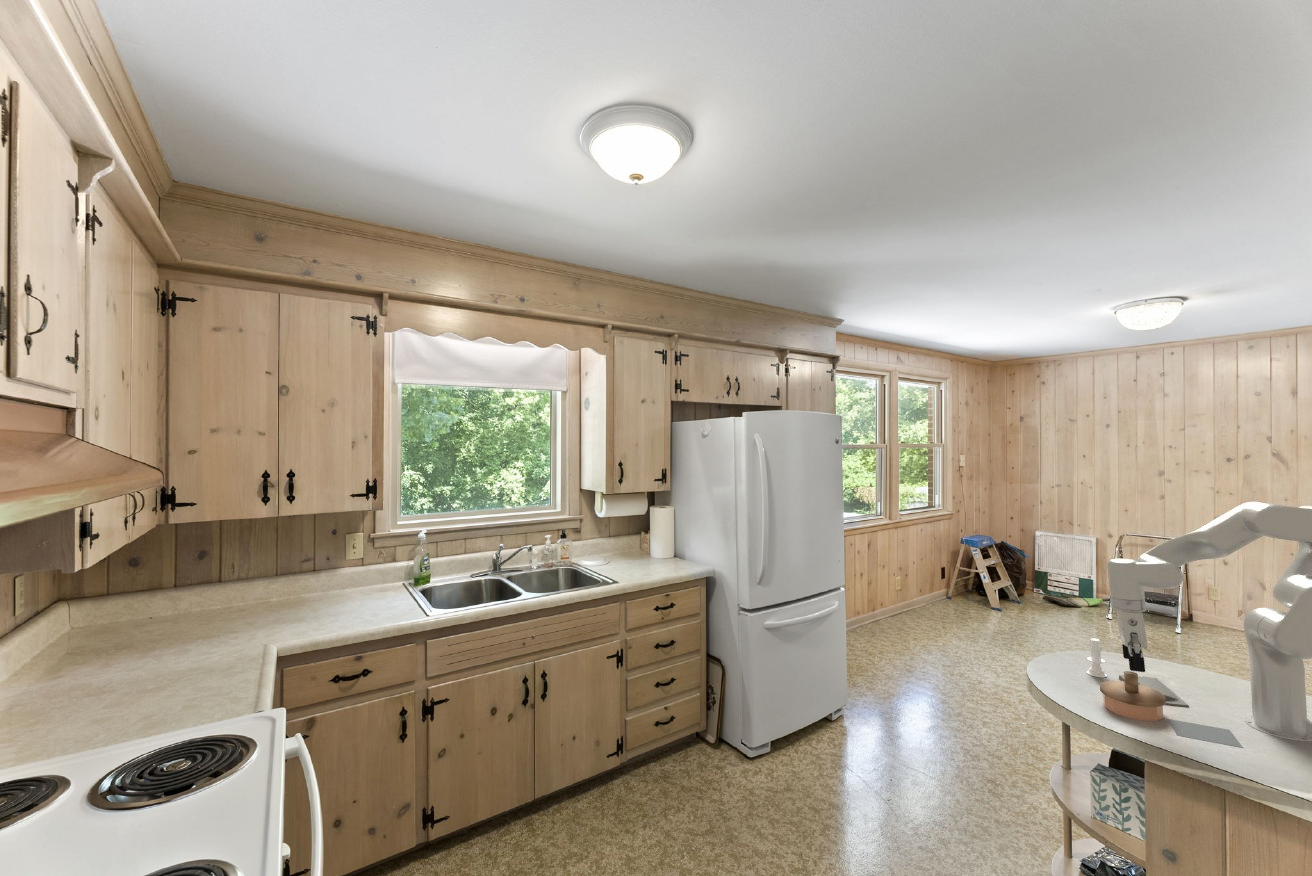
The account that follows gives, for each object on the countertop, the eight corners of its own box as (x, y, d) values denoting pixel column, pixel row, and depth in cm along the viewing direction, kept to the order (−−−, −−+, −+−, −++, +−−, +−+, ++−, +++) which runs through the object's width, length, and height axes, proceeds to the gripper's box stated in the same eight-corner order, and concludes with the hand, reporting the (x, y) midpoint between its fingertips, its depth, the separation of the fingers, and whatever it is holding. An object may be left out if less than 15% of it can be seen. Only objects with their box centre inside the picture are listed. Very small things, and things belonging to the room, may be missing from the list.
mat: (1229, 733, 143) (1229, 729, 143) (1243, 751, 134) (1243, 747, 135) (1167, 722, 149) (1167, 718, 149) (1177, 739, 141) (1176, 735, 141)
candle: (1086, 669, 185) (1085, 633, 185) (1107, 673, 181) (1105, 636, 182) (1086, 675, 181) (1084, 638, 181) (1107, 679, 177) (1105, 641, 178)
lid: (1159, 691, 157) (1158, 669, 157) (1171, 711, 145) (1170, 687, 145) (1096, 681, 165) (1095, 660, 165) (1103, 699, 153) (1102, 677, 153)
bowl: (1157, 709, 157) (1156, 691, 157) (1167, 728, 146) (1166, 709, 146) (1101, 699, 163) (1100, 682, 164) (1107, 717, 153) (1106, 699, 153)
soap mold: (1158, 684, 174) (1158, 673, 174) (1191, 713, 155) (1191, 700, 155) (1118, 680, 178) (1117, 669, 178) (1145, 707, 159) (1145, 695, 159)
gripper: (1152, 613, 146) (1158, 678, 146) (1139, 597, 161) (1145, 656, 160) (1115, 610, 150) (1122, 673, 150) (1106, 595, 165) (1112, 652, 164)
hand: (1134, 664), depth 155 cm, fingers open, 9 cm apart
